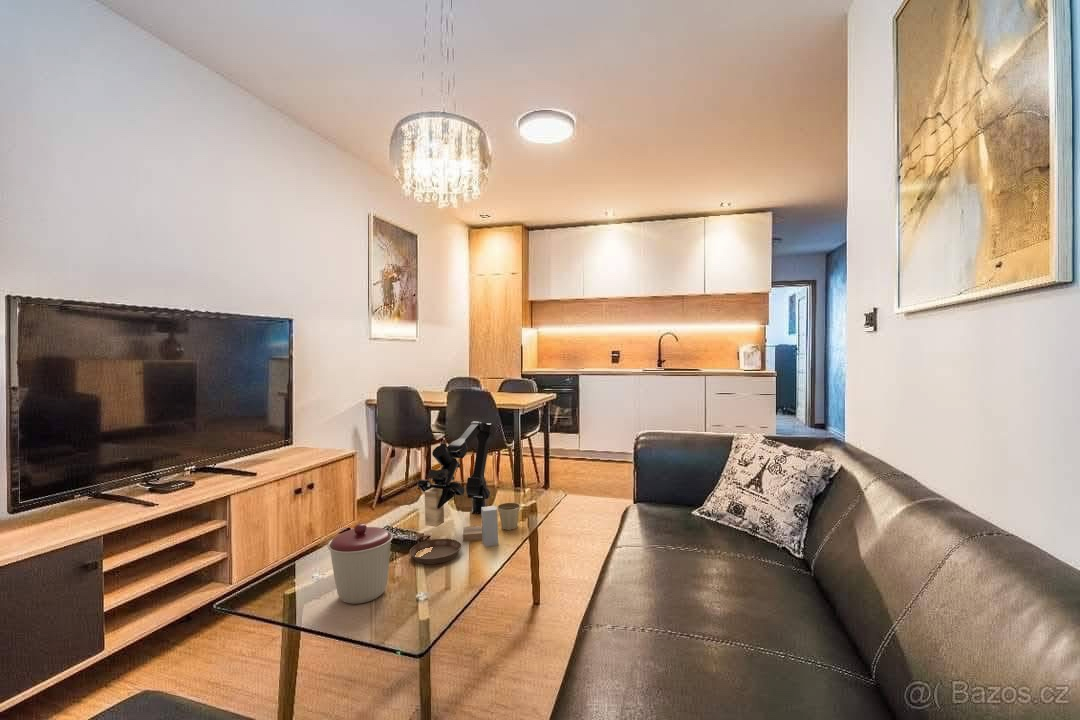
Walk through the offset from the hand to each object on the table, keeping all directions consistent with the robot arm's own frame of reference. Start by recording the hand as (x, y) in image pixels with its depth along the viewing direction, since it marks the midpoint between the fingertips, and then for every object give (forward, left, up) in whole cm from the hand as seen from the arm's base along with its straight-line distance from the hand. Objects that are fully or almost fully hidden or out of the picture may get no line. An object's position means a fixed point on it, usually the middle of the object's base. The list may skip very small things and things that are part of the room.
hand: (432, 507), depth 187 cm
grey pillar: (+8, +21, -12) cm, 26 cm away
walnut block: (0, +15, -13) cm, 20 cm away
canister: (+40, -17, -12) cm, 45 cm away
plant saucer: (+15, +2, -13) cm, 20 cm away
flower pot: (-7, +29, -12) cm, 33 cm away
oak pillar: (-1, +1, -7) cm, 7 cm away
